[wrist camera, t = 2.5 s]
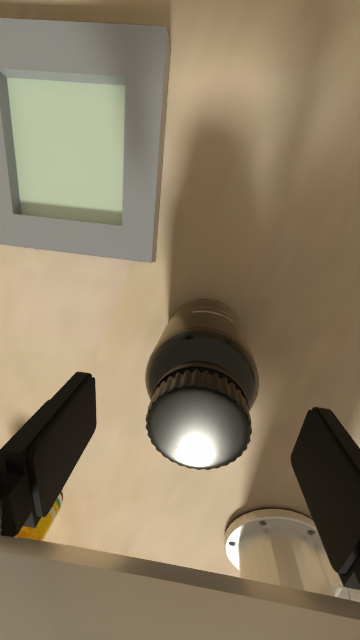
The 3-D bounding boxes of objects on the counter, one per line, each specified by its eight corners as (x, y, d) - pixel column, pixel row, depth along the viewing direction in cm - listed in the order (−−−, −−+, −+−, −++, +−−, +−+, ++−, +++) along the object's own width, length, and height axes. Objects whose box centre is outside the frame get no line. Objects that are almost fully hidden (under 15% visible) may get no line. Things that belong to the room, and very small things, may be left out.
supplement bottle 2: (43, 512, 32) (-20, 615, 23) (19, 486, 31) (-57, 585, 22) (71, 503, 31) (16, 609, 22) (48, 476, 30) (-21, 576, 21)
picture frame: (170, 48, 15) (166, 26, 14) (155, 261, 20) (151, 262, 18) (-23, 37, 16) (-47, 15, 15) (4, 243, 21) (-11, 242, 19)
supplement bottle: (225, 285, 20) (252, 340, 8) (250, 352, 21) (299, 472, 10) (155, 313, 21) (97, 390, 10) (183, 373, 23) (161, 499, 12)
